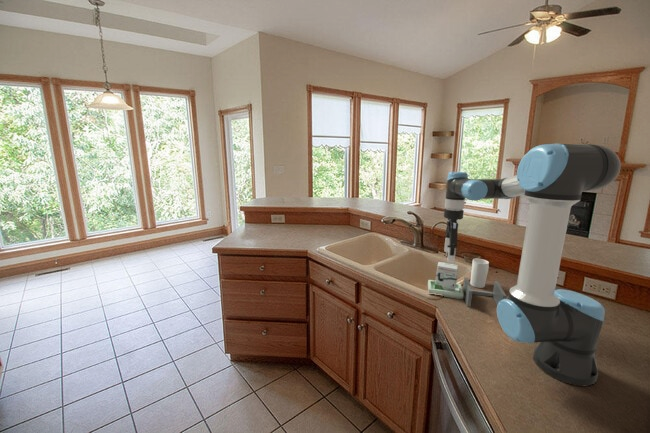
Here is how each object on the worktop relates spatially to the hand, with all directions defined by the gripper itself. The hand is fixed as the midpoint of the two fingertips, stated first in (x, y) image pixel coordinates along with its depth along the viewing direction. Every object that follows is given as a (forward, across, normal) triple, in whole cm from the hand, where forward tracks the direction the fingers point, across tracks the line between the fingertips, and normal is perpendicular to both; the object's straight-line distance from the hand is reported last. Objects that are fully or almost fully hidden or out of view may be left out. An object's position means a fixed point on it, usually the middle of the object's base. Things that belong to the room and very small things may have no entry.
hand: (449, 256), depth 131 cm
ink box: (+16, 0, 0) cm, 16 cm away
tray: (+17, +1, 0) cm, 17 cm away
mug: (+17, +14, -16) cm, 27 cm away
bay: (+17, -3, -14) cm, 22 cm away
